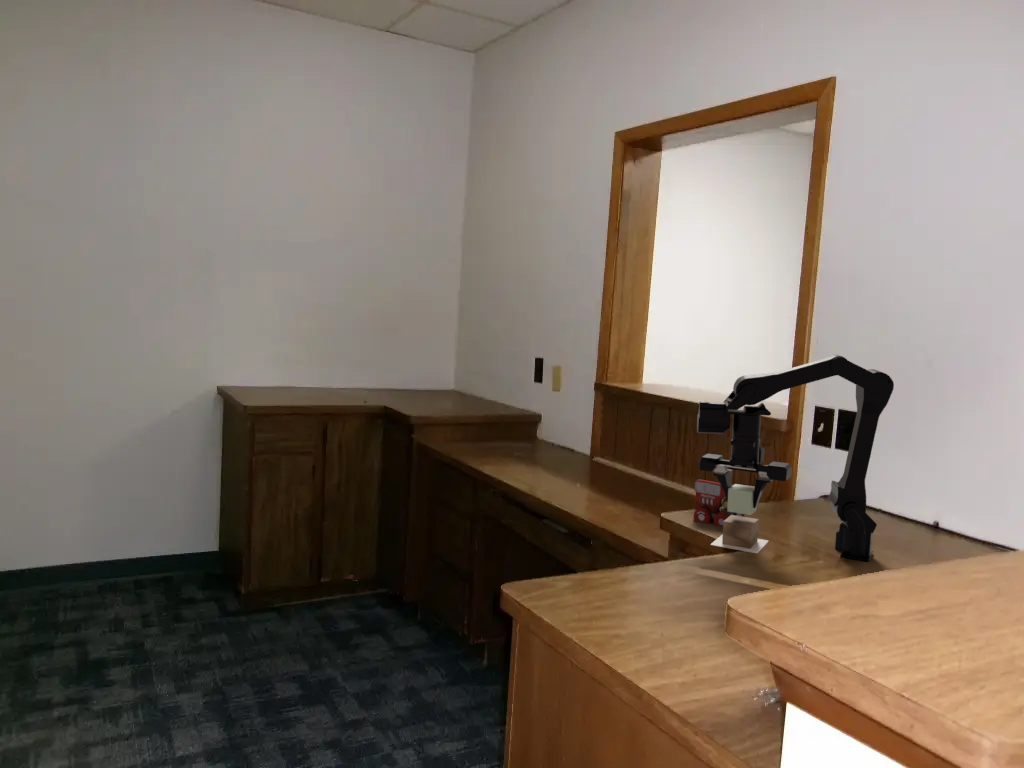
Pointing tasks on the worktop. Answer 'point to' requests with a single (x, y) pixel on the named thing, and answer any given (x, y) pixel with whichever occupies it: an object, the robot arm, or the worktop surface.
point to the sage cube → (741, 499)
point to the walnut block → (740, 531)
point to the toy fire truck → (711, 503)
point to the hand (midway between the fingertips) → (742, 505)
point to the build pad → (754, 549)
